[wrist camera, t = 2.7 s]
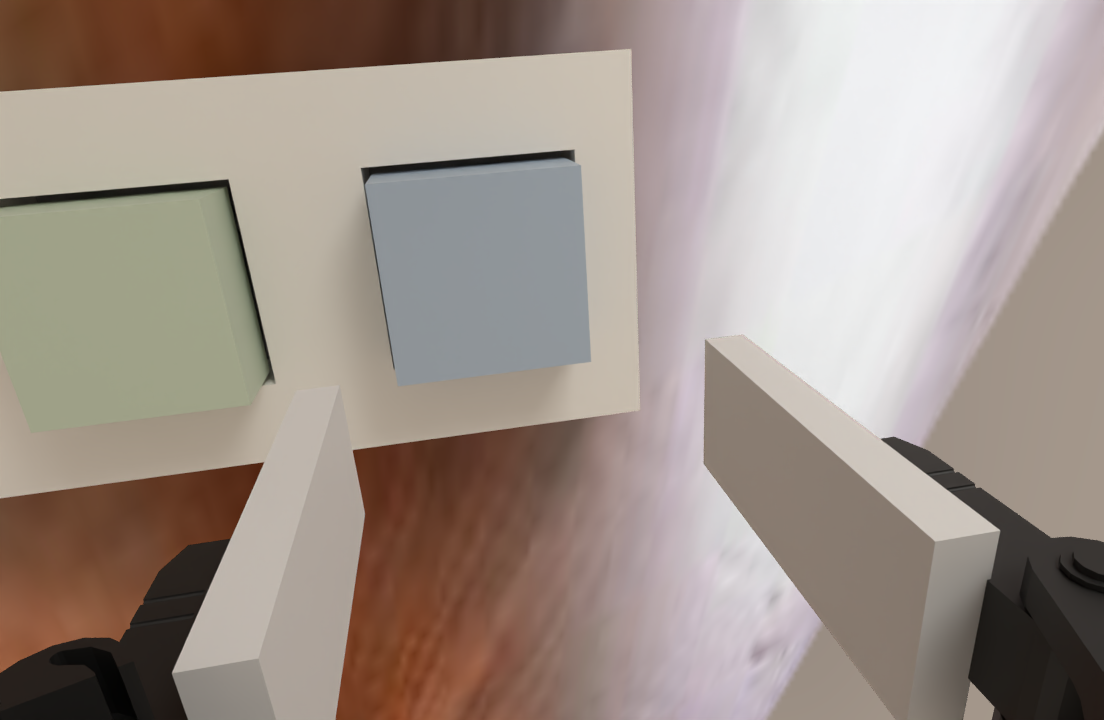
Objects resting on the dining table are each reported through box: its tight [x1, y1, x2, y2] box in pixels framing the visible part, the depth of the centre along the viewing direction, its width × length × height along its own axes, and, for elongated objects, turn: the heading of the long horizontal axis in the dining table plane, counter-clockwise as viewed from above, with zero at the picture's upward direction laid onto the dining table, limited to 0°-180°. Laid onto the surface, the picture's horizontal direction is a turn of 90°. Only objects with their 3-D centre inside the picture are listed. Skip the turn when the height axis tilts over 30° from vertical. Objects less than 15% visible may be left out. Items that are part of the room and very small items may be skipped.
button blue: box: [365, 157, 591, 386], centre depth 25 cm, size 7×7×3 cm
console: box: [0, 49, 640, 498], centre depth 27 cm, size 14×36×5 cm, turn 94°
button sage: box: [0, 187, 270, 433], centre depth 24 cm, size 7×7×3 cm
